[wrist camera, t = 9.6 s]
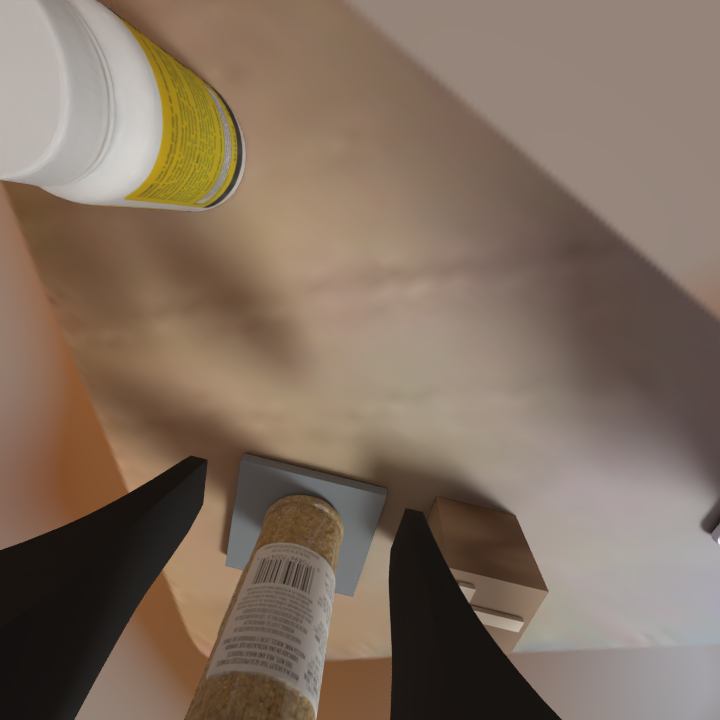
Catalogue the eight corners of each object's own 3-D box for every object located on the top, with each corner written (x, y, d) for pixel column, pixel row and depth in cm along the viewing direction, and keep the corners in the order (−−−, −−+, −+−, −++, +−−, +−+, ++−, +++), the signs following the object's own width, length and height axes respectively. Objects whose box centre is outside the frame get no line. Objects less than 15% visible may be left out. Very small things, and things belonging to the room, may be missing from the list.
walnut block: (515, 514, 20) (550, 596, 16) (486, 571, 22) (510, 659, 17) (436, 495, 20) (449, 571, 16) (413, 553, 22) (419, 637, 17)
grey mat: (386, 488, 20) (387, 495, 19) (353, 587, 23) (352, 596, 22) (244, 453, 20) (240, 460, 19) (229, 557, 23) (225, 566, 22)
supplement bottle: (231, 67, 14) (20, -144, 6) (260, 202, 15) (125, 180, 7) (115, 91, 14) (-220, -71, 6) (155, 219, 16) (-74, 215, 8)
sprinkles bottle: (255, 535, 21) (58, 999, 8) (282, 477, 19) (88, 943, 7) (327, 564, 21) (241, 1048, 9) (359, 510, 20) (310, 1006, 7)
